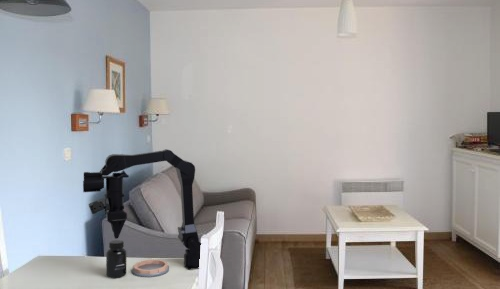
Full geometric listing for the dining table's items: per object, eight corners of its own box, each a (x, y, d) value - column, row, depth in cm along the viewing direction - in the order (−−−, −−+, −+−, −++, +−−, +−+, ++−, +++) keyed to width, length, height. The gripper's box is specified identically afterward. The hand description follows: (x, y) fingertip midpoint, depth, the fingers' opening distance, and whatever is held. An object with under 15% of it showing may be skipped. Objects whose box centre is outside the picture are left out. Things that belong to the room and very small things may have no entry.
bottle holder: (165, 263, 165) (165, 257, 165) (172, 274, 153) (172, 268, 153) (130, 267, 160) (130, 261, 160) (135, 279, 148) (134, 273, 148)
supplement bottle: (120, 279, 148) (120, 245, 148) (102, 277, 150) (102, 243, 149) (130, 272, 155) (129, 239, 154) (112, 271, 156) (112, 238, 156)
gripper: (89, 188, 155) (89, 230, 156) (90, 196, 138) (91, 244, 139) (121, 186, 159) (121, 228, 160) (126, 194, 142) (127, 241, 143)
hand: (115, 235), depth 150 cm, fingers open, 9 cm apart
